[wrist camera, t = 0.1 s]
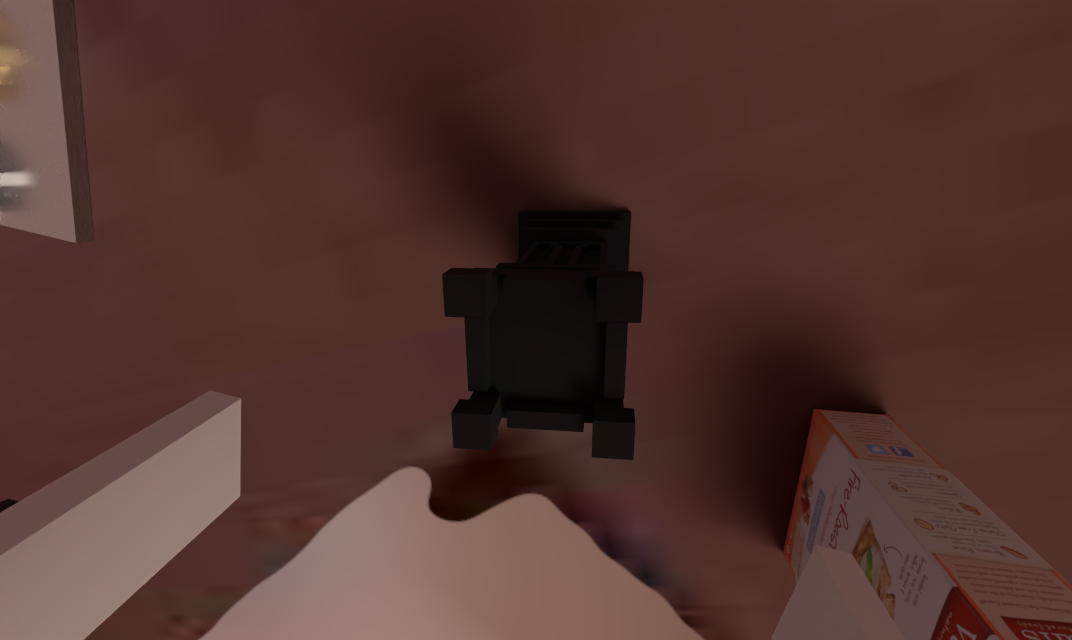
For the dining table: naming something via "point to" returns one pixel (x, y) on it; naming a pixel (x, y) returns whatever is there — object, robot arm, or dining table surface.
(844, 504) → the cracker box
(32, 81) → the carrier
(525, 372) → the chess piece
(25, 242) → the dining table surface
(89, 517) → the robot arm
